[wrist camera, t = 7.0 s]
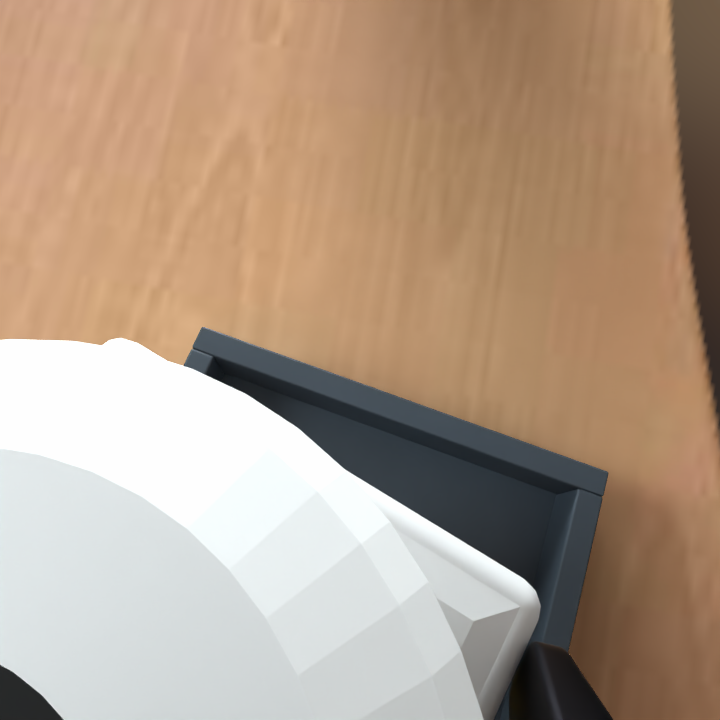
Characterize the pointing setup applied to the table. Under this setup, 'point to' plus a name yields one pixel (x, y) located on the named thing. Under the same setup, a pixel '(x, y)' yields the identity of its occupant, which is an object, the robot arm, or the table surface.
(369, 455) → the tray
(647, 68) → the table surface
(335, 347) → the table surface
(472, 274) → the table surface
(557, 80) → the table surface
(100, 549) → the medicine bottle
